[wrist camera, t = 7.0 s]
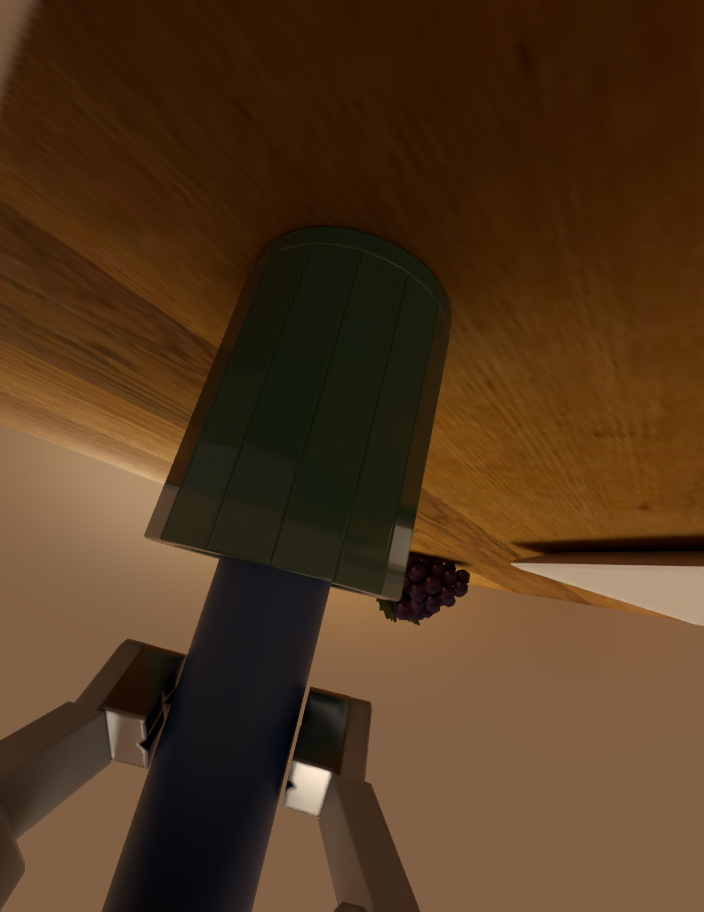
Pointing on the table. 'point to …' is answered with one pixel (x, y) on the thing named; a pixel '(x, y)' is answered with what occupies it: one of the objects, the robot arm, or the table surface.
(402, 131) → the table surface
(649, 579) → the beige flat square slab
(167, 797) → the marker
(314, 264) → the pen pot
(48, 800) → the robot arm
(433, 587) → the fruit
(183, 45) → the table surface
